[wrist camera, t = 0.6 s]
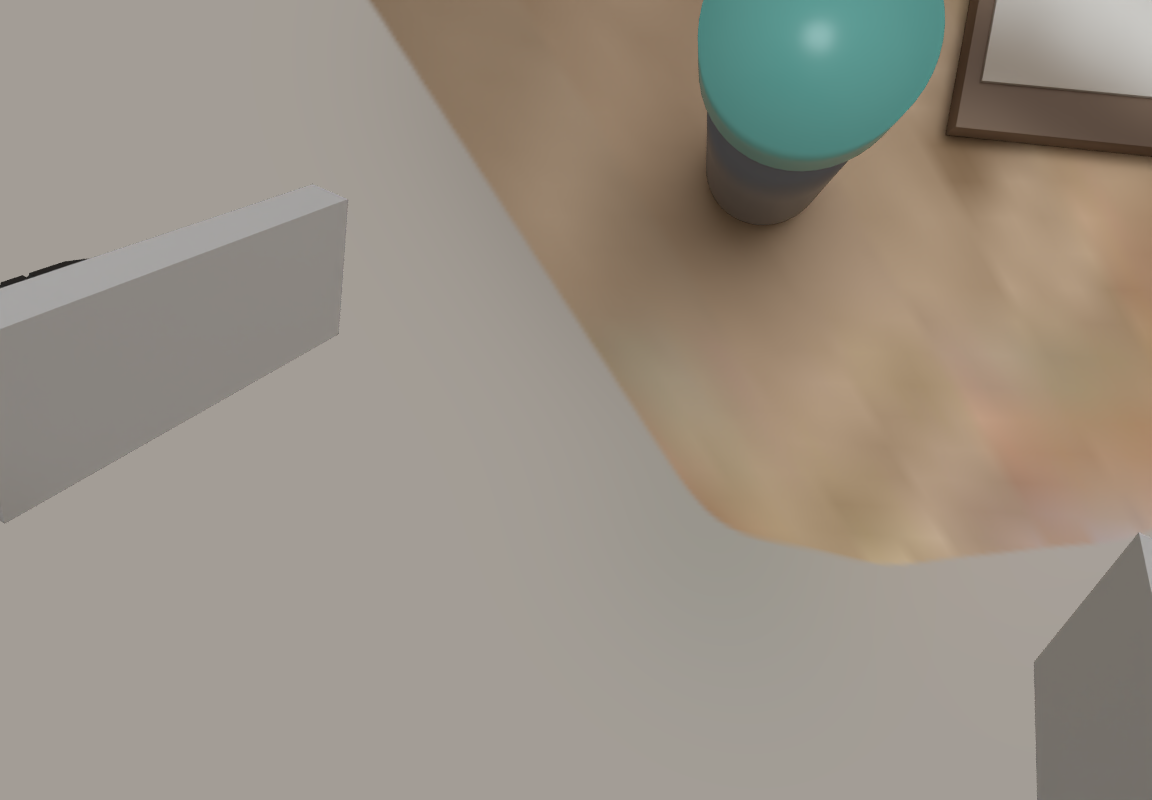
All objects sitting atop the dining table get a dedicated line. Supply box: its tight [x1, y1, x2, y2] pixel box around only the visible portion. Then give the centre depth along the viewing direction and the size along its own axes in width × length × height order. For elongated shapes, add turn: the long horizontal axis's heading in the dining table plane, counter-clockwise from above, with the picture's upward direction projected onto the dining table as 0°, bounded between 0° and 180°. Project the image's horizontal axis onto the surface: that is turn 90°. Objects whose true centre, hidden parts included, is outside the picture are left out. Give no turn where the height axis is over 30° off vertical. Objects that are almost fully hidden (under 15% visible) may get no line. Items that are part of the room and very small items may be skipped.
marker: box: [698, 0, 945, 225], centre depth 23 cm, size 4×4×15 cm
